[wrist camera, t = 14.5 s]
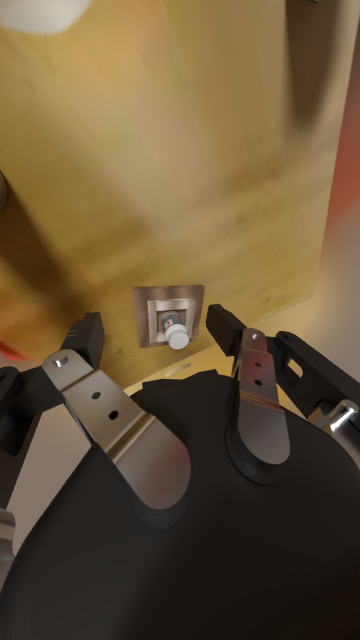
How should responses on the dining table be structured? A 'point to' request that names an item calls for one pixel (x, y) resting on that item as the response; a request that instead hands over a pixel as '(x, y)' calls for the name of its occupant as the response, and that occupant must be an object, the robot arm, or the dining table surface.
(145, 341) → the socket block
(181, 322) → the pill bottle
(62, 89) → the dining table surface
